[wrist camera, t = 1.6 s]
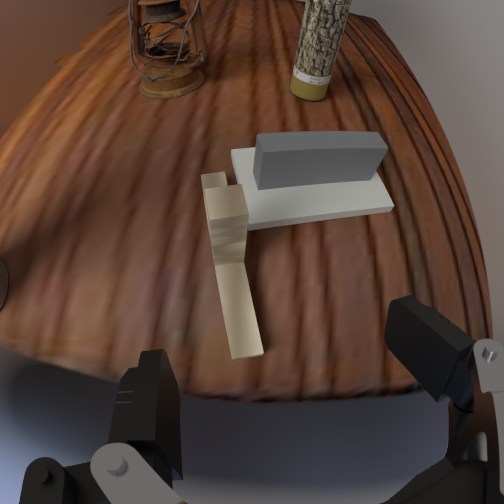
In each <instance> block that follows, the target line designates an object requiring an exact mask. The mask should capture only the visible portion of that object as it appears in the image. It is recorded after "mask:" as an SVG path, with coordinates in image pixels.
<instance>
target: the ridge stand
mask: <svg viewBox="0 0 504 504" xmlns="http://www.w3.org/2000/svg"><path fill="white" fill-rule="evenodd" d="M387 150H388V147H387V145H386V144H385V142H384V141H383V139H382V138H381V136H380V135H379V133H378V132H359V131H305V132H280V133H264V134H257V138H256V147H253V148H243V149H233V150H231V159H232V163H233V167H234V172H235V176H236V180H237V184H242V187H243V192H244V196H245V200H246V204H247V208H248V212H249V219H248V231H251V230H258V229H265V228H271V227H278V226H285V225H293V224H300V223H307V222H314V221H322V220H329V219H337V218H344V217H352V216H360V215H368V214H376V213H384V212H390V211H391V210H392V208H393V207H394V204H393V202H392V200H391V198H390V196H389V194H388V192H387V190H386V188H385V186H384V184H383V182H382V181H381V179H380V177H379V175H378V173H377V171H376V169H377V168H378V166H379V164H380V163H381V161H382V159H383V157H384V156H385V154H386V152H387Z"/></svg>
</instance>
